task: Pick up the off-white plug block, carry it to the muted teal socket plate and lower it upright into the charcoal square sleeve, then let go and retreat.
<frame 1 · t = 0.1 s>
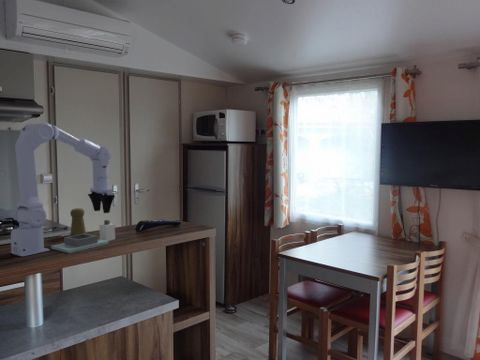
hand: (101, 211, 159), 10 cm above the counter, tool pointing down, fingers open, 7 cm apart
socket: (81, 246, 145), on the counter
cork: (78, 236, 163), on the counter
plug: (107, 239, 155), on the counter
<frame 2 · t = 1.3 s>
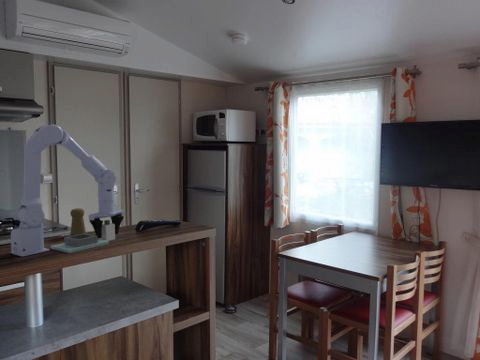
hand: (107, 235, 155), 1 cm above the counter, tool pointing down, fingers open, 7 cm apart
nothing on the counter moved.
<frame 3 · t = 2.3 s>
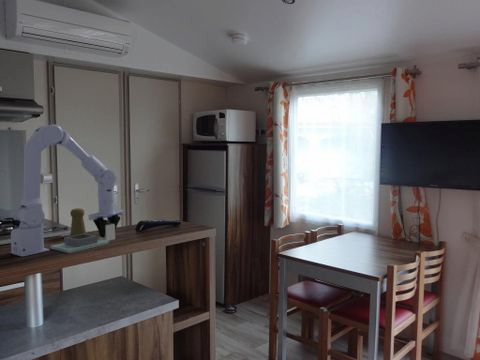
hand: (107, 235, 155), 1 cm above the counter, tool pointing down, fingers closed on plug, 4 cm apart
plug: (107, 239, 155), on the counter, touching gripper
everything else where it was.
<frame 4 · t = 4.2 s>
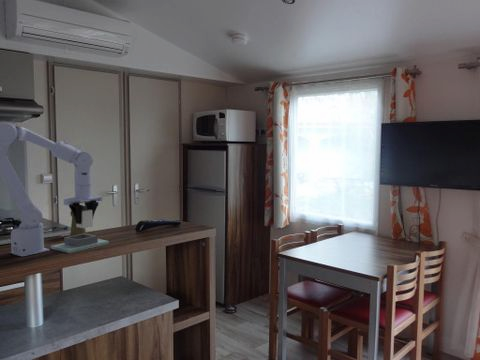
hand: (84, 222, 146), 8 cm above the counter, tool pointing down, fingers closed on plug, 4 cm apart
plug: (84, 226, 146), point 7 cm above the counter, touching gripper
everything else where it was.
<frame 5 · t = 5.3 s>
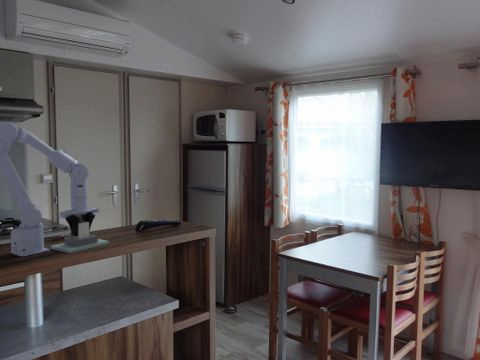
hand: (81, 234, 145), 4 cm above the counter, tool pointing down, fingers closed on plug, 4 cm apart
plug: (81, 238, 145), point 3 cm above the counter, touching gripper
everything else where it was.
when the fingers open (4 cm above the counter, at t = 6.1 s): plug drops 1 cm, resting on socket.
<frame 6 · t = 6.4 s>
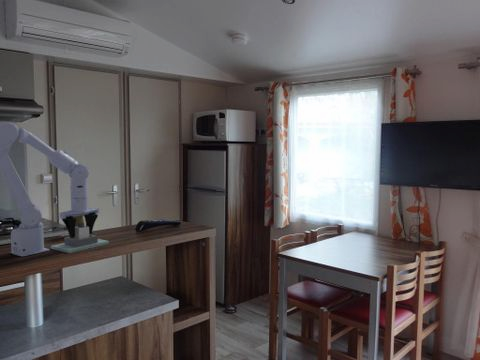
hand: (80, 235, 145), 4 cm above the counter, tool pointing down, fingers open, 6 cm apart
plug: (81, 243, 145), point 1 cm above the counter, touching socket
everything else where it was.
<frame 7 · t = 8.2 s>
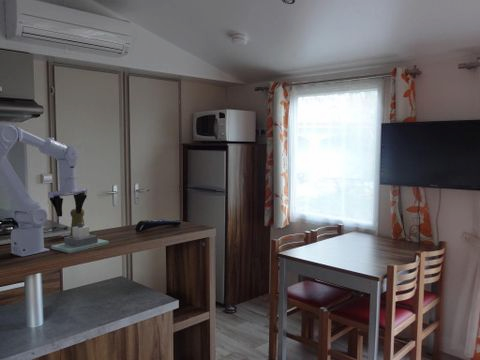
hand: (69, 214, 150), 10 cm above the counter, tool pointing down, fingers open, 7 cm apart
nothing on the counter moved.
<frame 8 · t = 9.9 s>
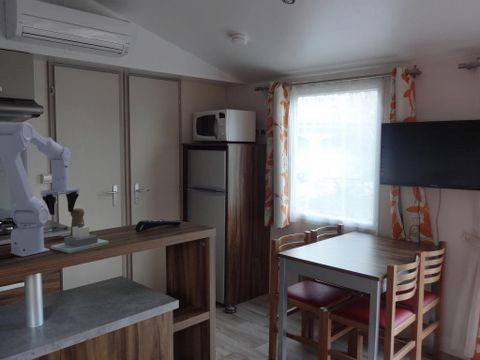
hand: (61, 213, 154), 10 cm above the counter, tool pointing down, fingers open, 7 cm apart
nothing on the counter moved.
at the end: plug 0.1 cm off-centre on the socket, point 1.0 cm above the socket's base; plug tilted 0°; the gripper is holding nothing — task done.
